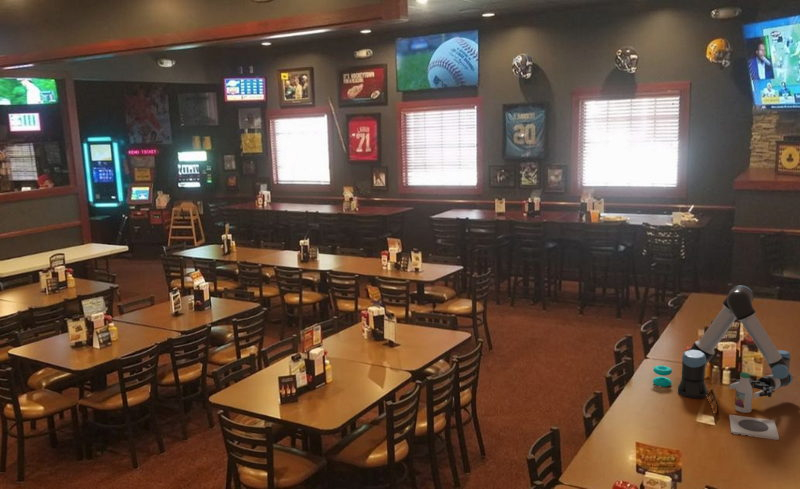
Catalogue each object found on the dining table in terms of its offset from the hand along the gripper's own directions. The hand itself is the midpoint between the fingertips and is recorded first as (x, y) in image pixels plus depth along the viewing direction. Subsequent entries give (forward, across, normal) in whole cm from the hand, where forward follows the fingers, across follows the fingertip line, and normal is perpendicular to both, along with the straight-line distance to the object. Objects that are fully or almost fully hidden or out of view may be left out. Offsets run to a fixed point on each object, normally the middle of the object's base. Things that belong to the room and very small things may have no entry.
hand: (742, 391), depth 339 cm
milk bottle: (-2, 0, -11) cm, 11 cm away
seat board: (+12, -15, -11) cm, 23 cm away
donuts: (+5, +46, -11) cm, 48 cm away
